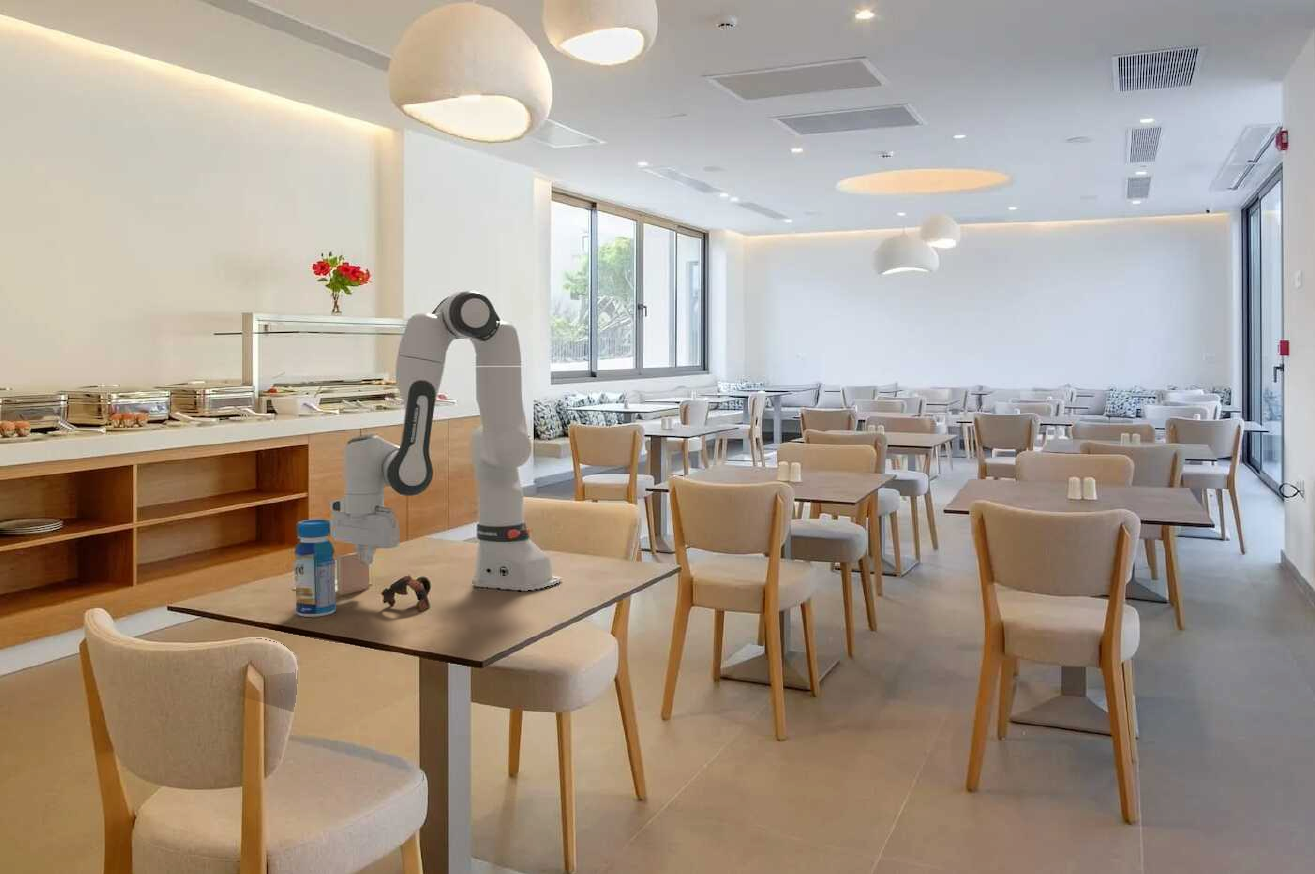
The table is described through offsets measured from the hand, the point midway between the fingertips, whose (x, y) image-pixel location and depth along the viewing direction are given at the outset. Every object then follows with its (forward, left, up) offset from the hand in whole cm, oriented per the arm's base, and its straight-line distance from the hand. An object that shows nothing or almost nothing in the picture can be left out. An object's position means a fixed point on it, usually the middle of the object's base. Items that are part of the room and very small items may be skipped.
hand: (365, 563), depth 231 cm
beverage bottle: (-5, +18, -7) cm, 20 cm away
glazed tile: (+5, 0, -7) cm, 9 cm away
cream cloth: (+12, 0, -7) cm, 14 cm away
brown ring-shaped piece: (-18, +3, -8) cm, 20 cm away
